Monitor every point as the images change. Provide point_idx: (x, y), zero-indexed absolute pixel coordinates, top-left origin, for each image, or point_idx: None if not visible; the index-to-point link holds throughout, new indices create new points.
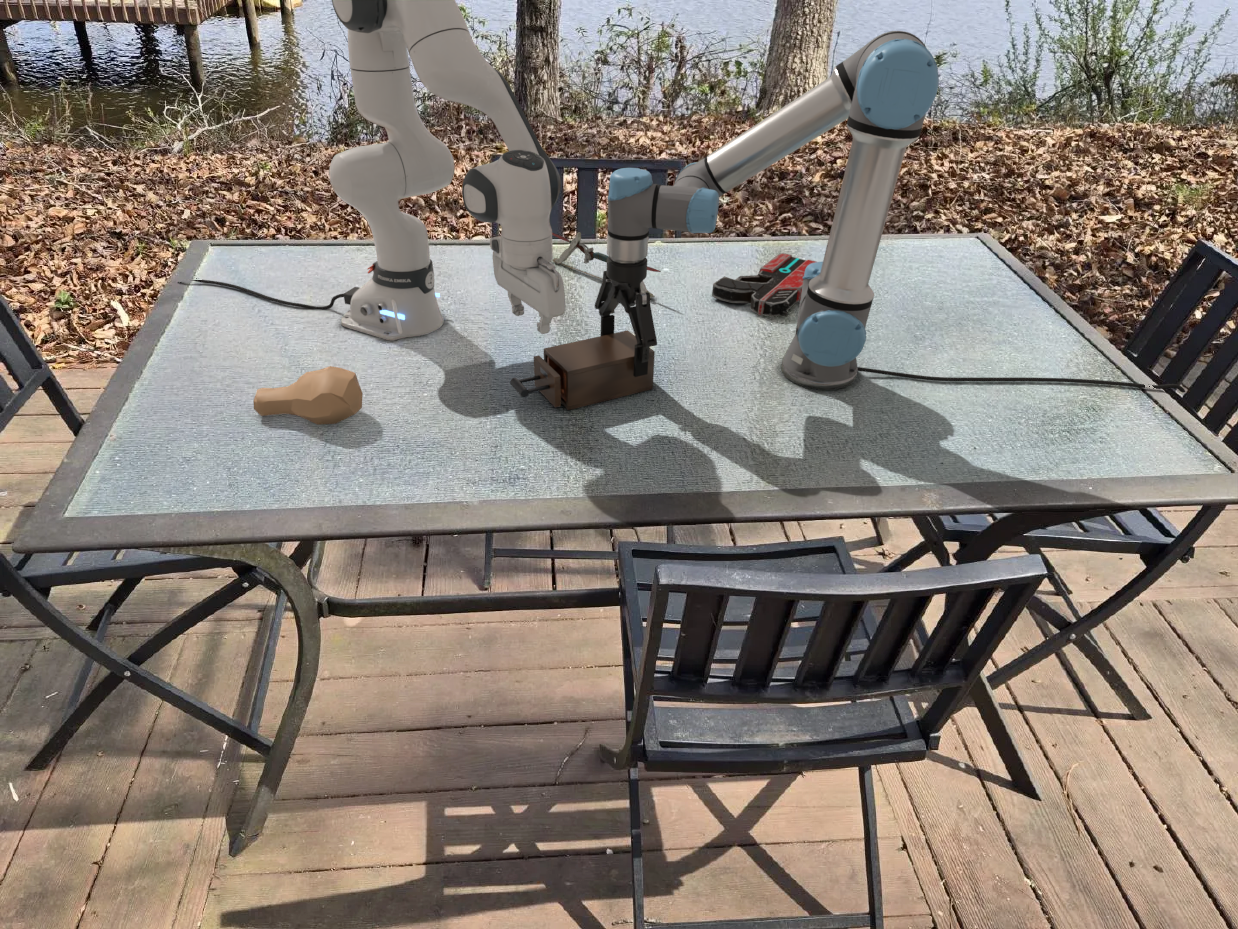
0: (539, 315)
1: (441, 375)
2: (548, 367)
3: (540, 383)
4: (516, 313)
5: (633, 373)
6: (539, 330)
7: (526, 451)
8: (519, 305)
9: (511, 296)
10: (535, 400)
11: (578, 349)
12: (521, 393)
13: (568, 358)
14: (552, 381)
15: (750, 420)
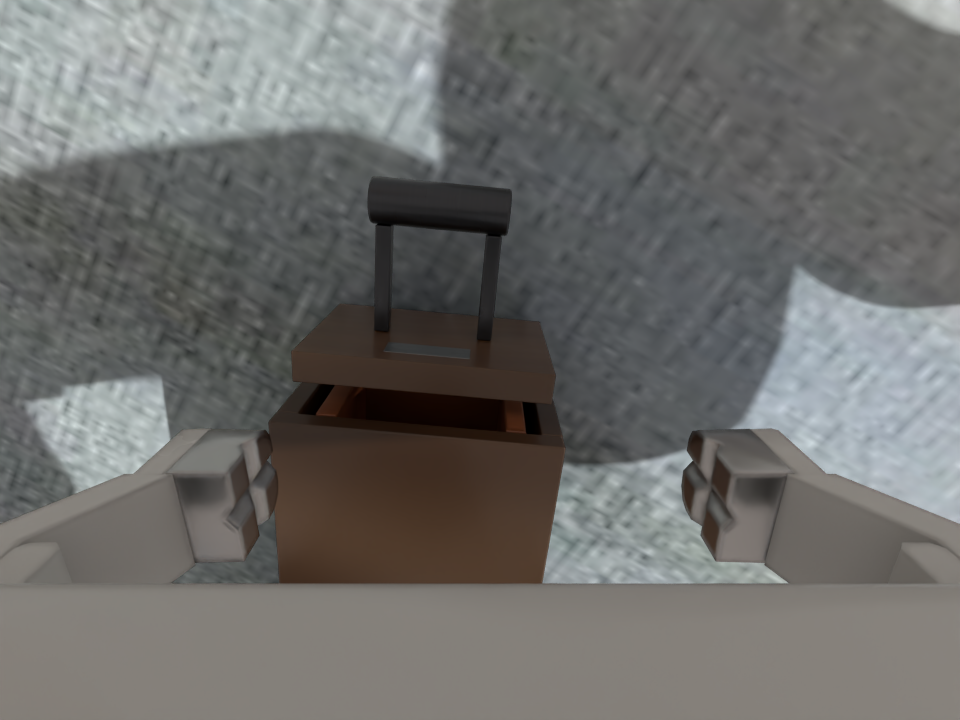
0: (41, 552)
1: (934, 2)
2: (404, 378)
3: (475, 328)
4: (704, 443)
5: None
6: (208, 436)
7: (98, 30)
8: (756, 532)
9: (897, 551)
10: (463, 278)
11: (459, 567)
12: (371, 180)
13: (396, 490)
14: (328, 341)
15: None
